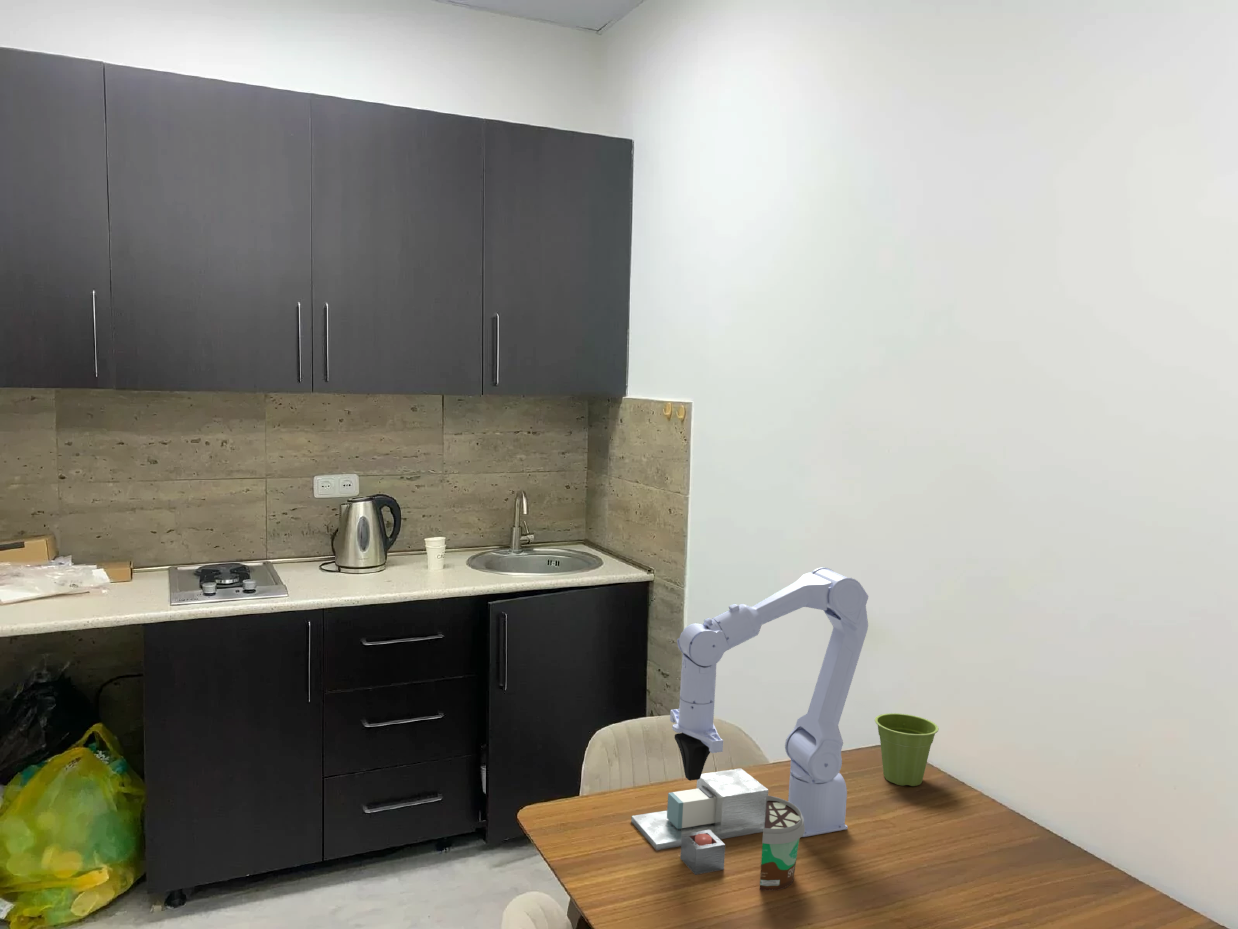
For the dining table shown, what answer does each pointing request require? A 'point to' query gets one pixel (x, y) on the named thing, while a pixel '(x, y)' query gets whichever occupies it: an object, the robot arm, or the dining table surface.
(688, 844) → the plunger collar
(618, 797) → the dining table surface
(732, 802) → the housing
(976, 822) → the dining table surface
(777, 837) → the food container
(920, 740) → the plant pot
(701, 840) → the plunger
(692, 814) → the cartridge
